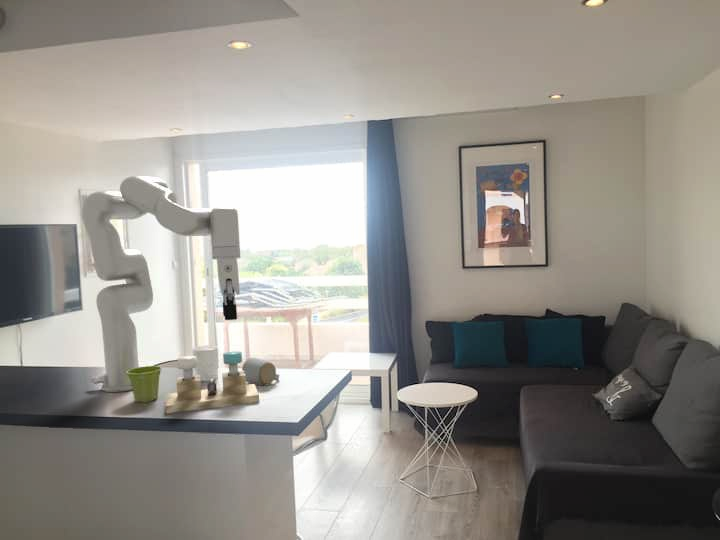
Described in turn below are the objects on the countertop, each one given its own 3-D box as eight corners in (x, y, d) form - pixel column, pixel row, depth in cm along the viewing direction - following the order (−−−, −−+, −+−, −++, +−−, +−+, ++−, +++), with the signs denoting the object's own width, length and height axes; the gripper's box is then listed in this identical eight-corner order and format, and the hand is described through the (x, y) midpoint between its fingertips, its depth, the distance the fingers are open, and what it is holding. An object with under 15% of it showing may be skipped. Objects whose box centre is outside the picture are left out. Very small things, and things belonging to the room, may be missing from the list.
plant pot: (128, 398, 166) (125, 368, 166) (162, 393, 170) (160, 364, 169) (129, 406, 158) (126, 375, 157) (165, 401, 162) (163, 370, 161)
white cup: (216, 381, 181) (214, 349, 180) (191, 382, 181) (189, 350, 180) (222, 375, 189) (220, 344, 188) (198, 376, 189) (196, 345, 188)
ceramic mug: (260, 388, 170) (259, 362, 170) (241, 385, 175) (240, 359, 175) (285, 380, 179) (284, 356, 178) (267, 377, 184) (266, 353, 183)
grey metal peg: (208, 396, 158) (207, 381, 157) (207, 393, 160) (206, 379, 160) (217, 394, 158) (216, 380, 158) (216, 392, 161) (215, 378, 160)
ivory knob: (179, 388, 154) (177, 360, 154) (179, 383, 159) (177, 356, 158) (198, 386, 155) (196, 358, 155) (198, 381, 160) (196, 355, 160)
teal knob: (225, 383, 157) (223, 356, 157) (224, 378, 162) (222, 352, 162) (243, 381, 159) (242, 354, 158) (242, 376, 164) (240, 350, 163)
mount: (166, 413, 150) (164, 387, 150) (168, 400, 162) (166, 376, 161) (259, 402, 157) (257, 376, 156) (254, 390, 168) (253, 366, 168)
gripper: (242, 253, 151) (246, 321, 152) (237, 251, 167) (241, 312, 169) (212, 255, 149) (217, 323, 150) (211, 253, 165) (215, 314, 167)
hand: (230, 317), depth 159 cm, fingers open, 7 cm apart
